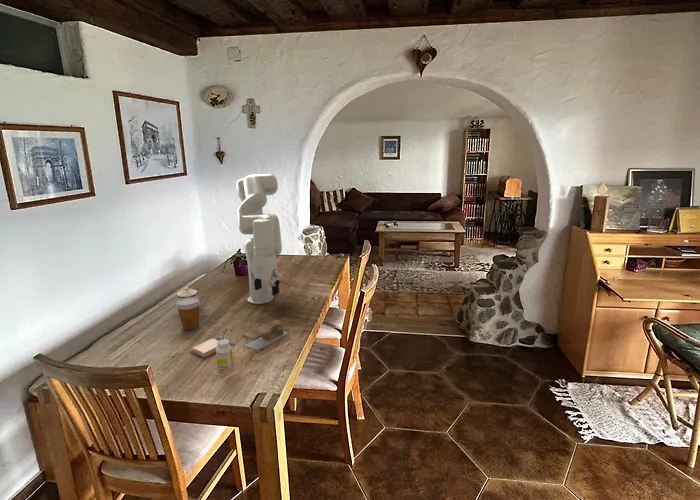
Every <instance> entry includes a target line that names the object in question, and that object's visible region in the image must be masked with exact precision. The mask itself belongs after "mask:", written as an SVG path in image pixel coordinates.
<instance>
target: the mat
mask: <svg viewBox="0 0 700 500" xmlns="http://www.w3.org/2000/svg"><path fill="white" fill-rule="evenodd" d="M214 339H215V338H214ZM222 339H223V338H220V337H218V338H216V339H215V340H218V341H219V340H222ZM229 343H230V344H229V345H230V346H231V347H232V348H233V347H234V346H236V344H235V343H233V342H231V341H229ZM188 354H191V355H193V356H195V357H197V358H199V359H202V360H203V361H207V360H208V359H210V358H212V357H214V356H216V352H215V353H213V354H211V355H209V356H207V357H202V356H200V355H198V354H196V353H194V352H193V349H192V350H190V351H189V352H188Z"/></svg>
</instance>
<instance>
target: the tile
mask: <svg viewBox="0 0 700 500" xmlns="http://www.w3.org/2000/svg"><path fill="white" fill-rule="evenodd" d="M217 342H218V340H215V338H210V339H208V340H206V341H203V342H202V343H199V344H197V345H195V346H193V347H192V350H193V352H194V353H196V354H198V355H200V356H202V357H207V356H209V355H211V354H213V353H215V352H216V348H217V347H218V346H217Z"/></svg>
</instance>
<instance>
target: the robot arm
mask: <svg viewBox="0 0 700 500" xmlns="http://www.w3.org/2000/svg"><path fill="white" fill-rule="evenodd" d="M235 185H236V190H237V195H238V196H239V199H240V201H241V204H240V205H239V206H238V208H237V215H236V218H237V225H238V230H239V232H240V233H241V234H242V235H252V237H250V238H248V239H246V240H245V242H244V247H243V248H244V251H245V255H246V263H247V269H248V270H247V271H248V283H249V285H248V286H249V294H250V295H249V296H248V297H247V299H246V300H247V303H249V304H251V305H252V304H253V305H261V304H262V305H263V304H267V303H270V302H272V301H273V299H274V296H277V295H278V294H280V287H279V286H280V284H281V283H282V281H283V277H284V276H283V275H282V273H280V272H279V271H278V262H277V257H276V256H279V255H280V254H282V248H283V246H282V236H281V235H282V234H281V224H280V220H279V217H278V216H277V214H275V213H265V214H264V212H263V208H264V207H265V205H267V202H268V199H267V196H272V195H273V196H274V195H275V194H276V193H277V192H278V188H279V183H278V179H277V177H276V176H275V175H274V174H272V173H256V174H255V173H254V174H249V175H247V176H246V177H243V178H240V179H238V180H236V183H235ZM270 283H271V284H272V285H271V287H270Z"/></svg>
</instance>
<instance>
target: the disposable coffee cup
mask: <svg viewBox="0 0 700 500" xmlns="http://www.w3.org/2000/svg"><path fill="white" fill-rule="evenodd" d="M200 304H201V301H200V300H199V297H198V298H196V297H187V298H182V299H180V300H178V299H177V301H176V305H175V307H176V308H177V311H178V315H179V318H180V322H181V326H182V329H183V330H184V331H191V330H196V329H197V328H199V327H200V326H199V324H200V323H199V322H200V320H199V319H200Z"/></svg>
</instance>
